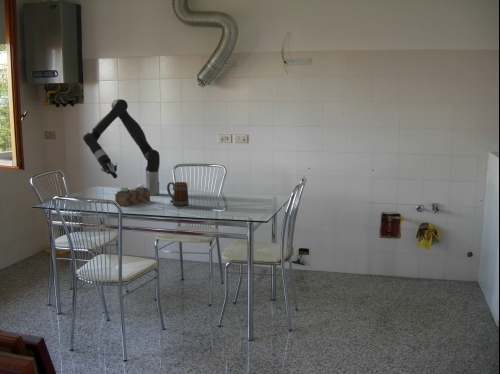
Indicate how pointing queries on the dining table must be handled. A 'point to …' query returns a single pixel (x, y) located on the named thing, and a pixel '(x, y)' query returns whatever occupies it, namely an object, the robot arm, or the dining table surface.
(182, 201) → the mug
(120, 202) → the wooden egg crate
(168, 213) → the dining table surface
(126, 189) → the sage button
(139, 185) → the cream egg
